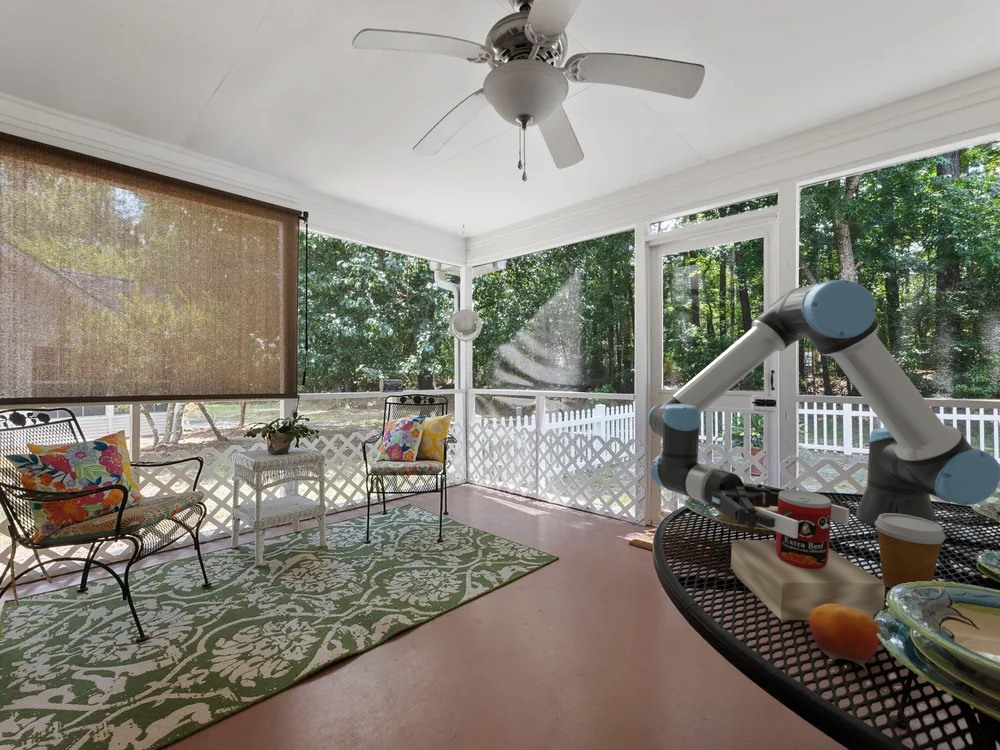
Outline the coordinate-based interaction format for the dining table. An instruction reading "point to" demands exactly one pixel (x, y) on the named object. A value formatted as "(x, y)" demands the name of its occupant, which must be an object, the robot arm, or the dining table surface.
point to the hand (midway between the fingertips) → (823, 523)
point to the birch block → (803, 581)
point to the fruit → (844, 632)
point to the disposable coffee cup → (908, 548)
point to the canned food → (805, 529)
